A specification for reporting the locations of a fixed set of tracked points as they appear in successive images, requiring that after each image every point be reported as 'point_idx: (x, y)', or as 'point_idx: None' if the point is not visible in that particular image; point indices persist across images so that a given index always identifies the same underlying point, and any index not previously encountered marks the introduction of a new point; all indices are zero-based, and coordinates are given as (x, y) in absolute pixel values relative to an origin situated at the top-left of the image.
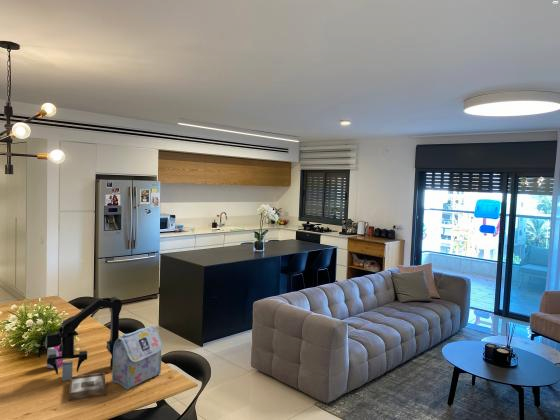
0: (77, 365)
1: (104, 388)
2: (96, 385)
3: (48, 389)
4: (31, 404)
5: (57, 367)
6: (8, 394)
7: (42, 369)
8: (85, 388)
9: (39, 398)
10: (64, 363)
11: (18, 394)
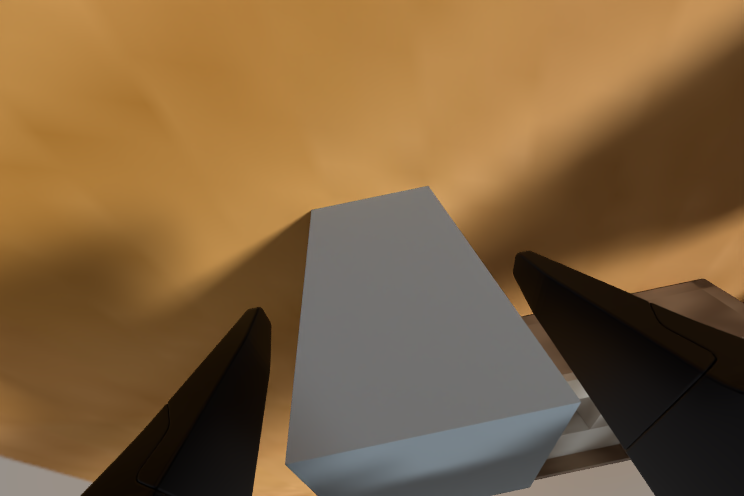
0: (600, 391)
1: (629, 459)
2: (604, 423)
3: (283, 396)
4: (270, 476)
5: (225, 429)
6: (13, 447)
7: None
8: None
9: (281, 451)
10: (363, 493)
11: (99, 442)
